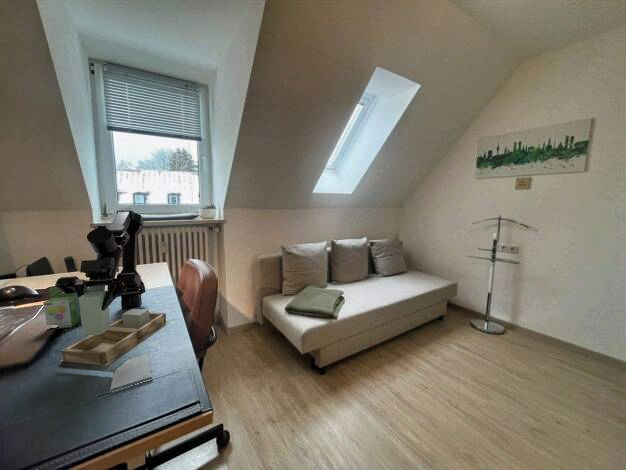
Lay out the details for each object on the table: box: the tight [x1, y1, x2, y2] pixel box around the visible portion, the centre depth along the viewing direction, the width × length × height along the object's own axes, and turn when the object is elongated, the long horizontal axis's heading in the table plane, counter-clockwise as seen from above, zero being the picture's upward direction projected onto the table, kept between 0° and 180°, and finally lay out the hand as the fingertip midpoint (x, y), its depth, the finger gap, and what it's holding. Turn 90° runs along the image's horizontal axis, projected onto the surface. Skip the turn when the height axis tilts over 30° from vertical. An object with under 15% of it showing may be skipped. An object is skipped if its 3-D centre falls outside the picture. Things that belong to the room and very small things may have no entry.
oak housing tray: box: [59, 311, 169, 366], centre depth 78 cm, size 24×14×4 cm, turn 174°
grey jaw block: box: [122, 308, 150, 329], centre depth 83 cm, size 4×6×6 cm, turn 84°
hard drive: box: [109, 353, 153, 393], centre depth 65 cm, size 2×8×12 cm
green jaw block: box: [79, 289, 111, 337], centre depth 70 cm, size 4×4×11 cm
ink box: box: [42, 287, 79, 329], centre depth 86 cm, size 7×4×13 cm, turn 105°
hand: (92, 311), depth 69 cm, fingers closed on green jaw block, 4 cm apart
